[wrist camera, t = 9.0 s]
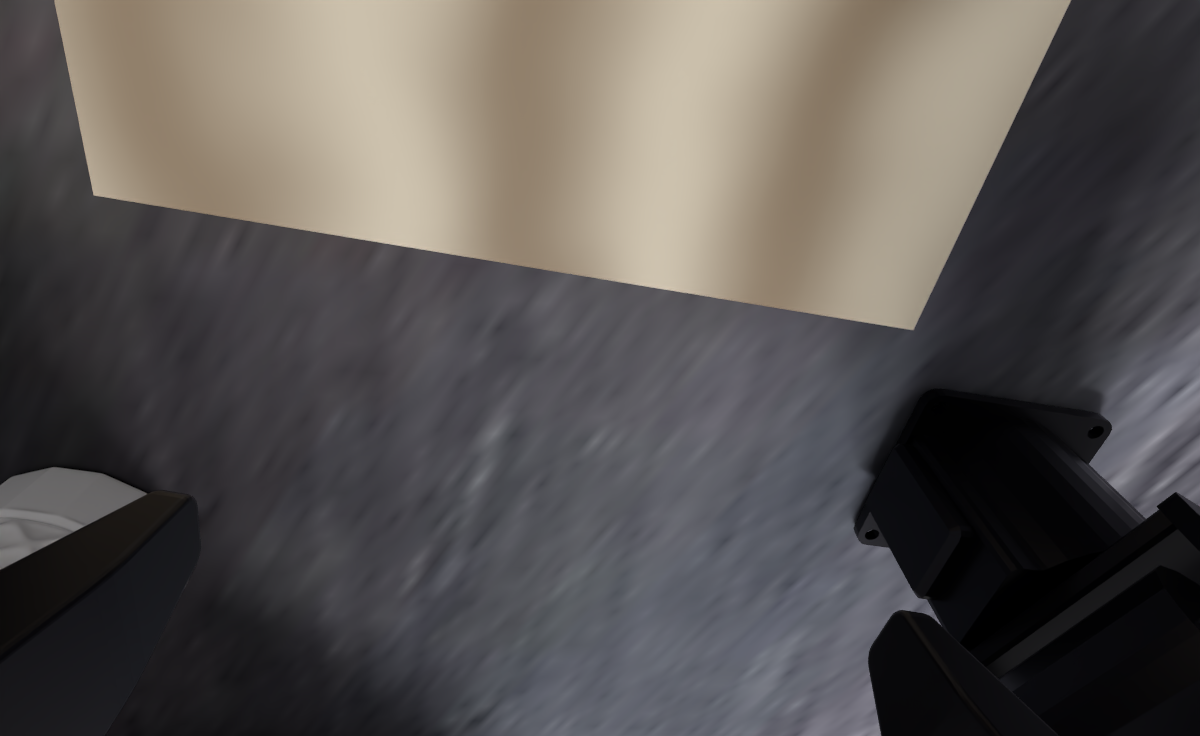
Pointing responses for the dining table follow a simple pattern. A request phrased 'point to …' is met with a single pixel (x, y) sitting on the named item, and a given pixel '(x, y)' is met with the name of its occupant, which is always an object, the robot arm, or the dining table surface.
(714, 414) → the dining table surface
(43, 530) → the white cup
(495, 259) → the board
